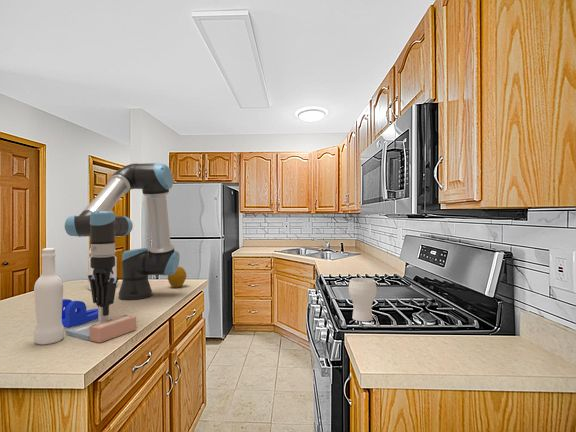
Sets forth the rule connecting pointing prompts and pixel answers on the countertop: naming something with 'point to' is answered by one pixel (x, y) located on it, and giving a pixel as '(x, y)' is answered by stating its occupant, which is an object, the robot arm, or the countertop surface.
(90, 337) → the stub
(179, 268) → the apple
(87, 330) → the ticket
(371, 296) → the cup
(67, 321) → the bracket
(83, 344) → the countertop surface
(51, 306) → the bottle
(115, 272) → the bottle
